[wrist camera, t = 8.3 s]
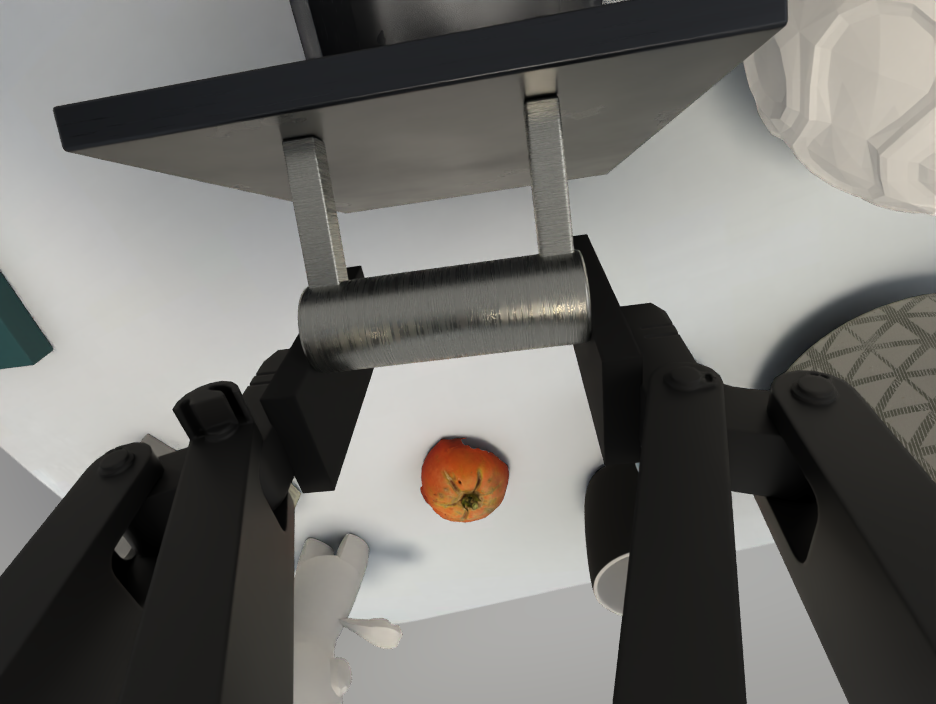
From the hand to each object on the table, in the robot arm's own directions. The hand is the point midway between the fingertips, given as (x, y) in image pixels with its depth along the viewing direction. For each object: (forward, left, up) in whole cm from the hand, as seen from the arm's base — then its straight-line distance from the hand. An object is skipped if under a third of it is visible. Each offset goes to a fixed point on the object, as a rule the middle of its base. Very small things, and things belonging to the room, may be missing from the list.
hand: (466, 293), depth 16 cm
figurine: (+36, -20, -20) cm, 46 cm away
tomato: (+27, -5, -20) cm, 34 cm away
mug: (+32, +10, -20) cm, 39 cm away
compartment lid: (-4, 0, -3) cm, 5 cm away
